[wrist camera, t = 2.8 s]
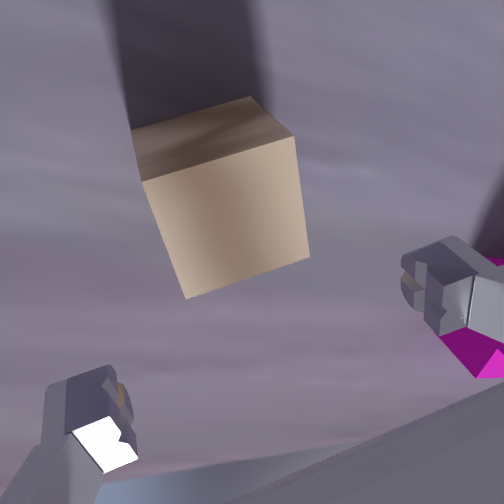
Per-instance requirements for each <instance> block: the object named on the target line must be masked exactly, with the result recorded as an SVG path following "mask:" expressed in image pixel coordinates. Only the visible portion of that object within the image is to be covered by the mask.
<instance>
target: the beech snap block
mask: <svg viewBox="0 0 504 504" xmlns="http://www.w3.org/2000/svg"><path fill="white" fill-rule="evenodd" d="M131 135H132V140H133V144H134V149H135V154H136V158H137V163H138V168H139V172H140V177H141V182H142V185H143V187H144V190H145V193H146V195H147V198H148V200H149V203H150V206H151V208H152V211H153V214H154V216H155V219H156V222H157V224H158V227H159V230H160V232H161V235H162V238H163V240H164V243H165V245H166V248H167V251H168V253H169V256H170V259H171V261H172V264H173V267H174V269H175V272H176V275H177V277H178V280H179V282H180V285H181V288H182V290H183V293H184V296H185V298H186V299H189V298H192V297H195V296H198V295H201V294H203V293H206V292H209V291H212V290H215V289H218V288H221V287H224V286H227V285H230V284H233V283H236V282H239V281H241V280H244V279H247V278H250V277H253V276H256V275H259V274H262V273H265V272H268V271H271V270H274V269H277V268H280V267H282V266H285V265H288V264H291V263H294V262H297V261H300V260H303V259H306V258H309V257H310V254H309V246H308V239H307V231H306V224H305V216H304V208H303V201H302V193H301V186H300V178H299V171H298V163H297V156H296V148H295V141H294V136H293V135H292V134H291V133H290V132H289V131H288V130H287V129H286V128H285V127H284V126H283V125H281V124H280V123H279V122H278V121H277V120H276V119H275V118H274V117H273V116H272V115H271V114H270V113H268V112H267V111H266V110H265V109H264V108H263V107H262V106H261V105H260V104H259V103H258V102H256V101H255V100H254V99H253V98H252V97H251V96H248V97H244V98H241V99H237V100H234V101H230V102H227V103H223V104H220V105H216V106H213V107H209V108H206V109H202V110H199V111H195V112H192V113H188V114H185V115H181V116H178V117H175V118H171V119H168V120H164V121H161V122H157V123H154V124H150V125H147V126H143V127H140V128H136V129H133V130H131Z"/></svg>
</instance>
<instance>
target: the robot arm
mask: <svg viewBox="0 0 504 504" xmlns="http://www.w3.org/2000/svg"><path fill="white" fill-rule="evenodd" d="M401 267H402V268H403V269H404V270H405V272H404V274H403V276H402V277H401V289H402V292H403V295H404V298H405V299H406V301H407V302H408V304H409V305H410V306H411V307H412V308H413V309H414V310H417V311H420V312H423V313H424V321H425V322H426V323H427V324H428V325H429V326H430V327H431V328H432V329H433V331H434V332H435V333H436V334H437V335H438V336H442V335H445V334H447V333H450V332H453V331H455V330H458V329H461V328H463V327H466V326H468V327H467V328H470V329H472V330H474V331H477V332H479V333H481V334H483V335H486V336H488V337H490V338H493V339H495V340H497V341H499V342H502V343H504V265H501V266H498V267H497V266H496V265H495V264H493V263H492V262H491V261H489V260H488V259H486V258H485V257H484V256H482V255H481V254H480V253H478V252H477V251H476V250H474V249H473V248H472V247H470V246H469V245H468V244H466V243H465V242H463V241H462V240H461V239H459V238H458V237H456V236H450V237H447V238H445V239H442V240H440V241H437V242H435V243H432V244H429V245H427V246H424V247H422V248H419V249H416V250H414V251H411V252H408V253H406V254H403V256H402V258H401ZM133 420H134V415H133V409H132V405H131V401H130V397H129V395H128V393H127V390H126V389H125V387H124V385H123V384H121V383H118V382H117V375H116V372H115V370H114V369H113V367H112V366H111V365H105V366H102V367H99V368H96V369H94V370H91V371H88V372H85V373H82V374H79V375H76V376H73V377H70V378H69V379H66V380H63V381H60V382H57V383H54V384H51V385H49V386H48V388H47V390H46V392H45V402H44V413H43V424H42V435H41V444H40V445H38V446H35V447H34V448H33V450H32V451H31V453H30V454H29V456H28V457H27V459H26V460H25V462H24V463H23V465H22V466H21V468H20V469H19V471H18V472H17V474H16V475H15V477H14V478H13V480H12V481H11V483H10V484H9V486H8V487H7V489H6V490H5V492H4V493H3V495H2V496H1V497H0V504H93V503H94V500H95V498H96V496H97V493H98V491H99V488H100V486H101V484H102V481H103V479H104V476H105V475H104V473H106V472H108V471H111V470H113V469H115V468H118V467H120V466H122V465H125V464H127V463H129V462H131V461H134V460H136V459H138V452H137V443H136V434H135V433H134V431H133V430H132V428H131V424H132V422H133ZM223 504H504V382H503V383H500V384H498V385H496V386H493V387H491V388H489V389H486V390H484V391H482V392H479V393H477V394H475V395H473V396H470V397H468V398H466V399H463V400H461V401H459V402H456V403H454V404H452V405H449V406H447V407H445V408H442V409H440V410H438V411H436V412H433V413H431V414H429V415H426V416H424V417H422V418H419V419H417V420H415V421H412V422H410V423H408V424H405V425H403V426H401V427H399V428H396V429H394V430H392V431H389V432H387V433H385V434H382V435H380V436H378V437H375V438H373V439H371V440H369V441H366V442H364V443H362V444H360V445H357V446H355V447H352V448H350V449H348V450H345V451H343V452H341V453H338V454H336V455H334V456H332V457H329V458H327V459H325V460H322V461H320V462H318V463H315V464H313V465H311V466H308V467H306V468H304V469H301V470H299V471H297V472H294V473H292V474H290V475H287V476H285V477H283V478H280V479H278V480H276V481H274V482H271V483H269V484H267V485H264V486H262V487H260V488H257V489H255V490H253V491H250V492H248V493H246V494H243V495H241V496H239V497H236V498H234V499H232V500H230V501H227V502H225V503H223Z"/></svg>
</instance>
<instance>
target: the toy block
mask: <svg viewBox="0 0 504 504" xmlns="http://www.w3.org/2000/svg"><path fill="white" fill-rule="evenodd" d="M485 258H486V259H488V260H489V261H491V262H492V263H493V264H495V265H496V266H497V267H498V266H501V265H504V259H500V258H491V257H485ZM467 327H468V326H466V327H463V328H461V329H458V330H455V331H453V332H450V333H447V334H445V335H442V336H438V335H437V334H436V333H435V332H434V333H435V334H436V335H437V336H438V337H439V338H440V339H441V340H442V341H443V343H444V344H445V345H446V346H447V347H448V348H449V349H450V350H451V352H452V353H453V354H454V355H455V356H456V357H457V358H458V359H459V360H460V362H461V363H462V364H463V365H464V366H465V367H466V368H467V369H468V370H469V372H470V373H471V374H472V375H473V376H474V377H475V378H504V343H502V342H499V341H497V340H495V339H493V338H490V337H488V336H486V335H483V334H481V333H479V332H477V331H474V330H472V329H470V328H467Z"/></svg>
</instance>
